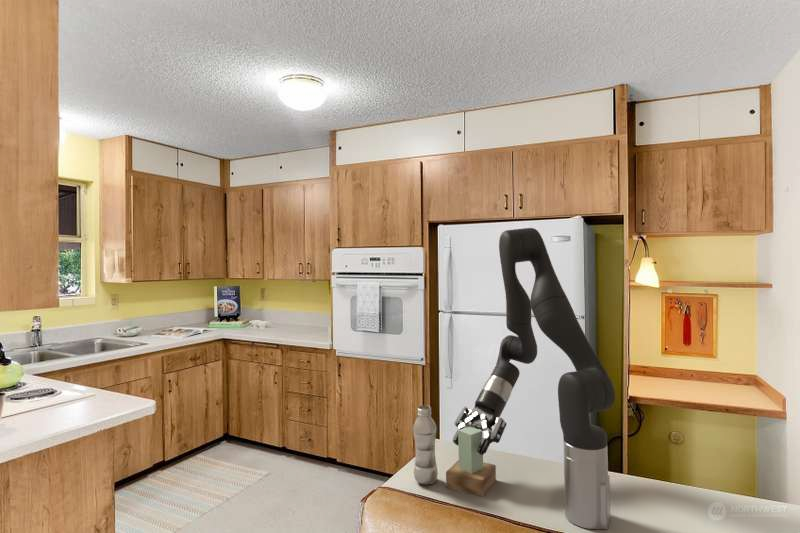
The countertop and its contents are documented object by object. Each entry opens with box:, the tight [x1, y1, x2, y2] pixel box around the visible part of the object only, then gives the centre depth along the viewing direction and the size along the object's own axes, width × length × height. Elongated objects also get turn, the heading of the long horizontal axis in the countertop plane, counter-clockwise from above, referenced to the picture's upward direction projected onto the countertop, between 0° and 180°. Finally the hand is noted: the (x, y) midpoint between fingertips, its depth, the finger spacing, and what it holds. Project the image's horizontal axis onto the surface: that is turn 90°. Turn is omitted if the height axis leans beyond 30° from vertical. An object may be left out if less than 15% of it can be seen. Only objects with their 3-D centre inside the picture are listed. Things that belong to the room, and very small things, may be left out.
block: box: [457, 426, 484, 474], centre depth 120 cm, size 4×4×10 cm
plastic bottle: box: [412, 405, 439, 485], centre depth 121 cm, size 6×7×20 cm
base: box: [445, 459, 497, 497], centre depth 119 cm, size 10×10×4 cm
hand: (467, 448), depth 119 cm, fingers open, 8 cm apart
